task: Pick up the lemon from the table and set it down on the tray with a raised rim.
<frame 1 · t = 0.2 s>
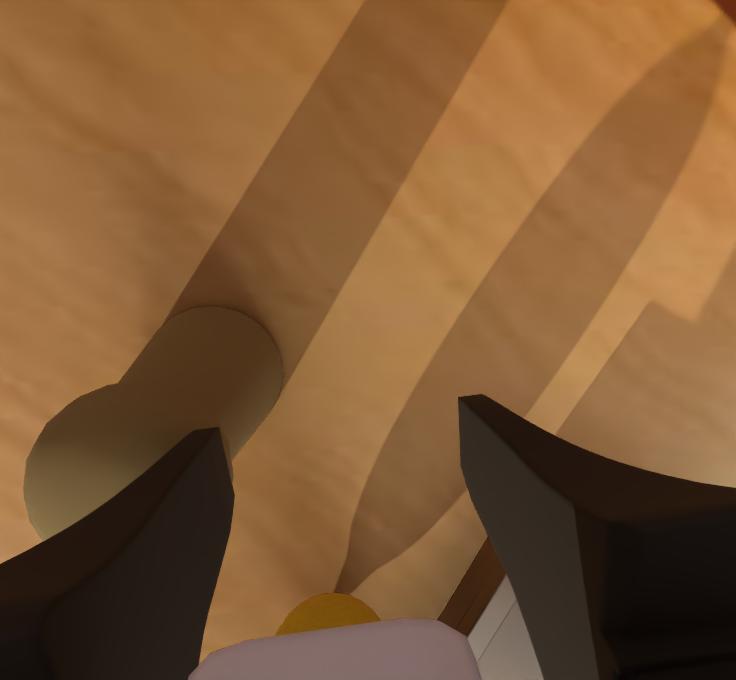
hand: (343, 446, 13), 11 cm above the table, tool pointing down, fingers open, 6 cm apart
tray: (549, 639, 27), on the table
lemon: (330, 605, 26), on the table
cork: (215, 371, 23), on the table, touching gripper
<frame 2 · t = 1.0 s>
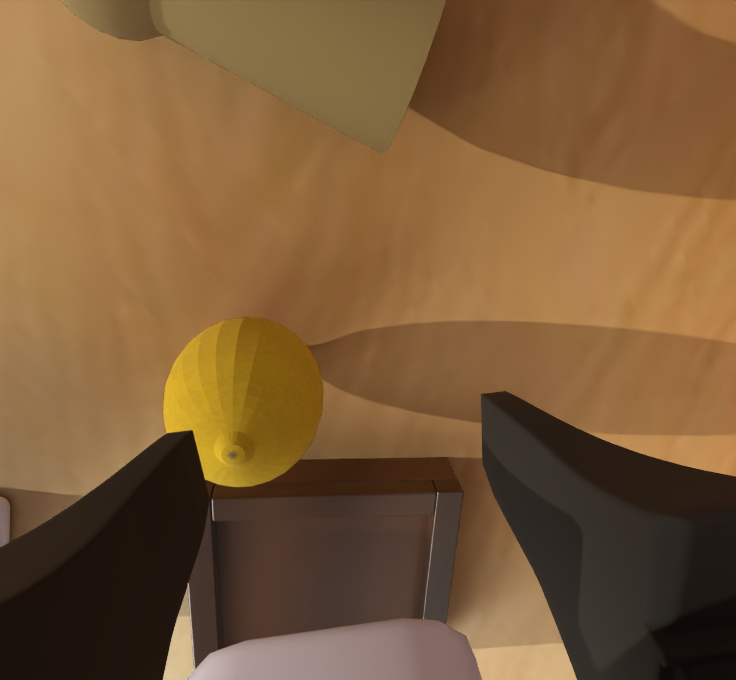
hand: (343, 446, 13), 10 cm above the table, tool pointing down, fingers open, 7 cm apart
tray: (321, 560, 27), on the table
lemon: (256, 354, 23), on the table
cork: (420, 64, 17), point 3 cm above the table
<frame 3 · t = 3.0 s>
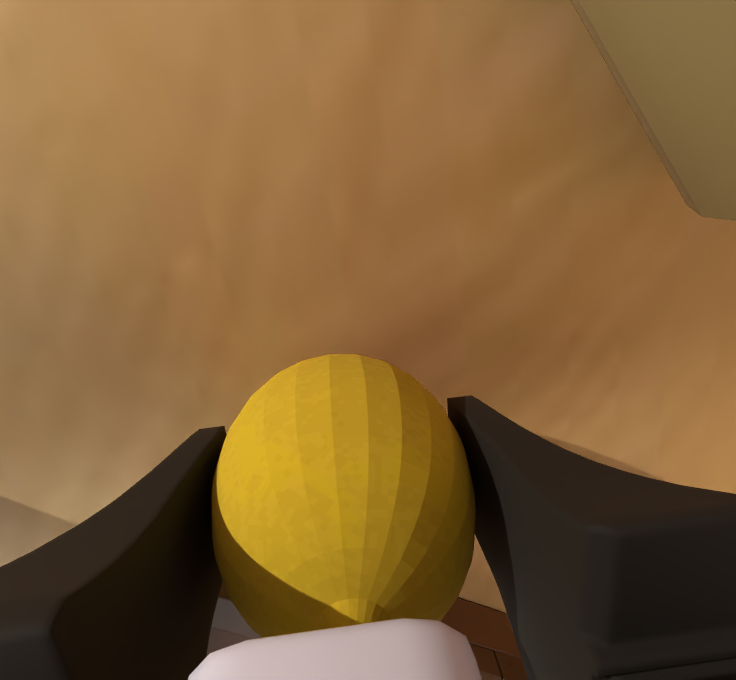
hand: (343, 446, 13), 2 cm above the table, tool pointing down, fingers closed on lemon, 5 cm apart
lemon: (338, 398, 15), on the table, touching gripper
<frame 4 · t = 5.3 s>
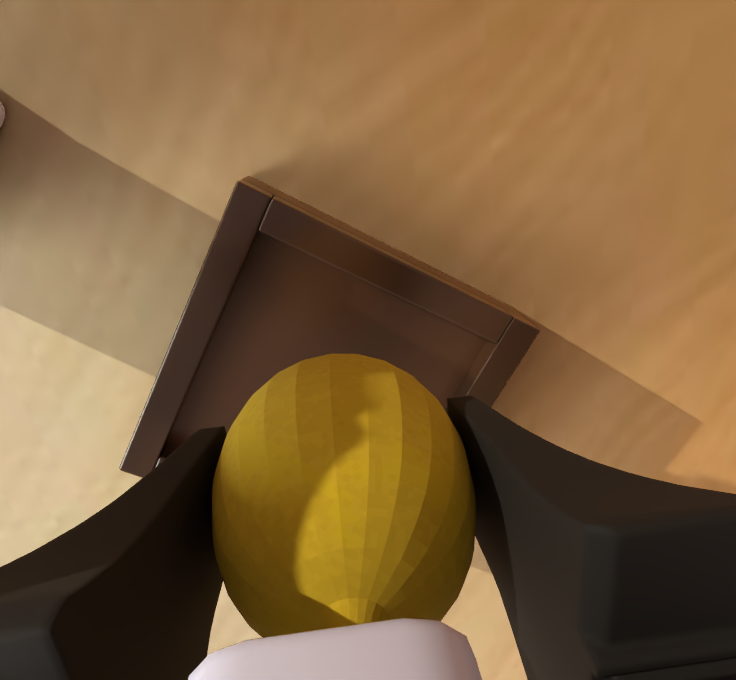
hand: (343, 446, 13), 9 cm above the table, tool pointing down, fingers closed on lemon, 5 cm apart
tray: (325, 371, 23), on the table
lemon: (338, 398, 15), point 7 cm above the table, touching gripper
when the fingers open (4 cm above the table, at t = 7.4 s): lemon stays where it is, resting on tray.
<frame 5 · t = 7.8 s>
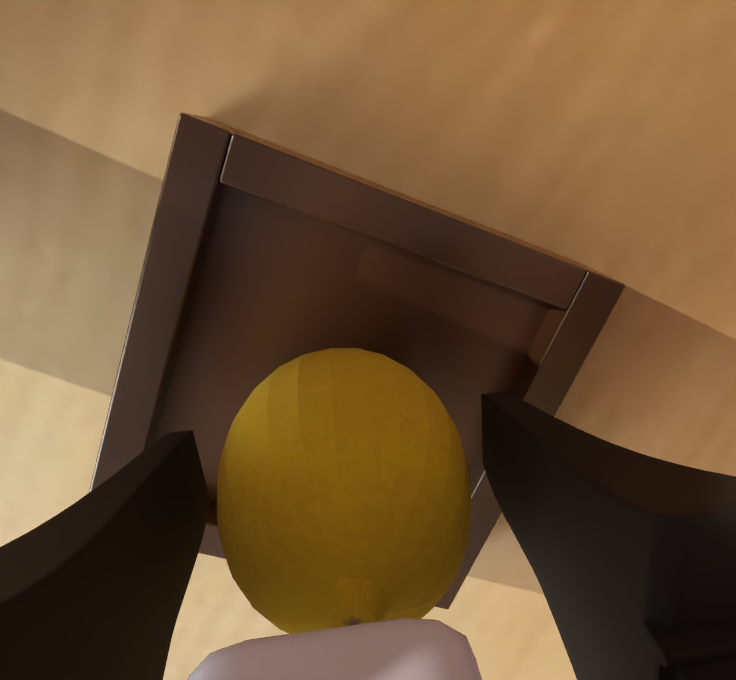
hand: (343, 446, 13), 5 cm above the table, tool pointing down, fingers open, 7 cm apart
tray: (338, 370, 17), on the table
lemon: (338, 393, 16), point 2 cm above the table, touching tray
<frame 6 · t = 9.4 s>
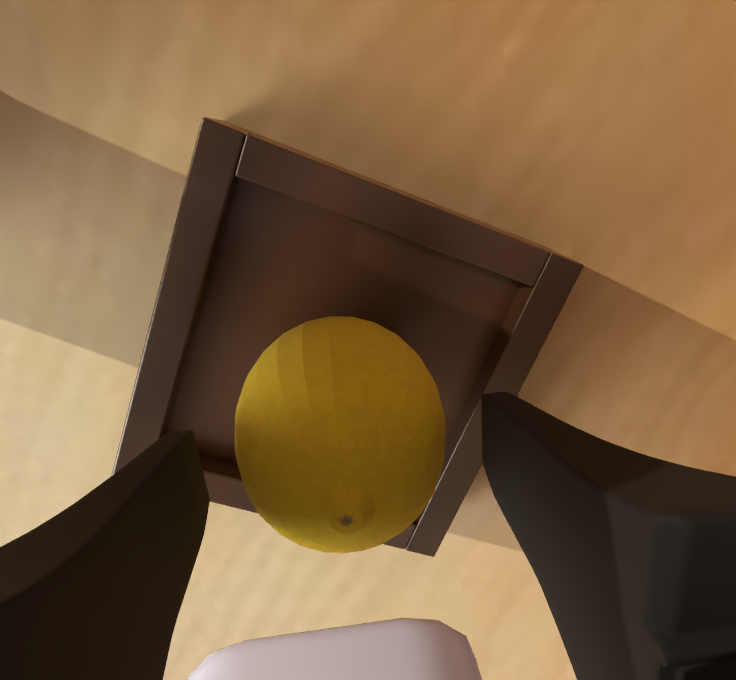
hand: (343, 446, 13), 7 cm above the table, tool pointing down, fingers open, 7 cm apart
tray: (336, 344, 20), on the table
lemon: (336, 361, 18), point 2 cm above the table, touching tray
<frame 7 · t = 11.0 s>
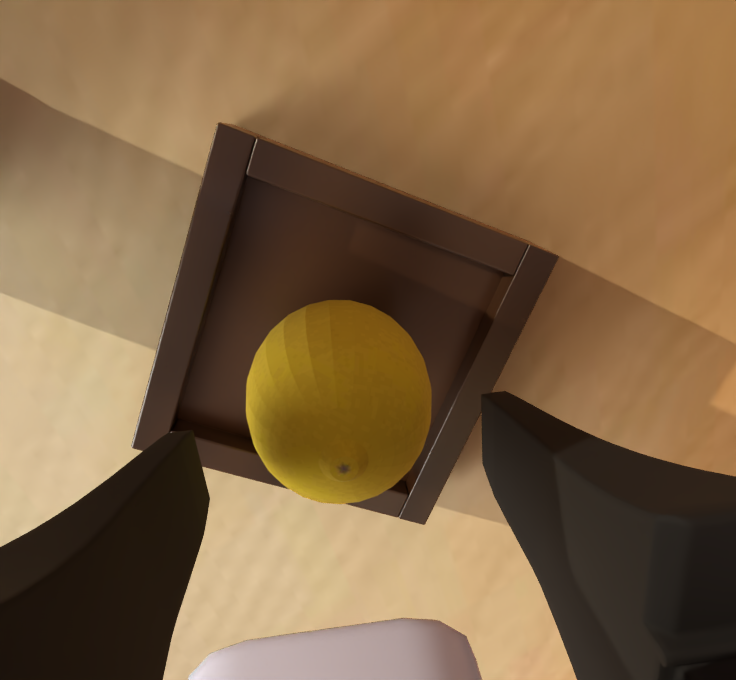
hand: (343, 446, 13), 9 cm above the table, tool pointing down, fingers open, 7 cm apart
tray: (335, 329, 21), on the table
lemon: (335, 344, 20), point 2 cm above the table, touching tray
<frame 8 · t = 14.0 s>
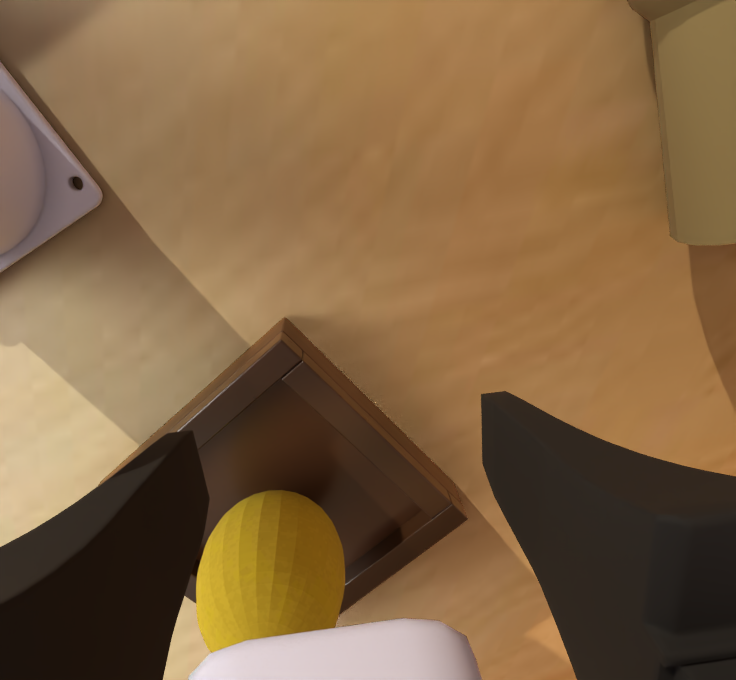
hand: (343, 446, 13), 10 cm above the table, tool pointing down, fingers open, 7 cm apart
tray: (283, 481, 26), on the table
lemon: (280, 502, 24), point 2 cm above the table, touching tray
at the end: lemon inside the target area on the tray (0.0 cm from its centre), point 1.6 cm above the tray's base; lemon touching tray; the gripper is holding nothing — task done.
